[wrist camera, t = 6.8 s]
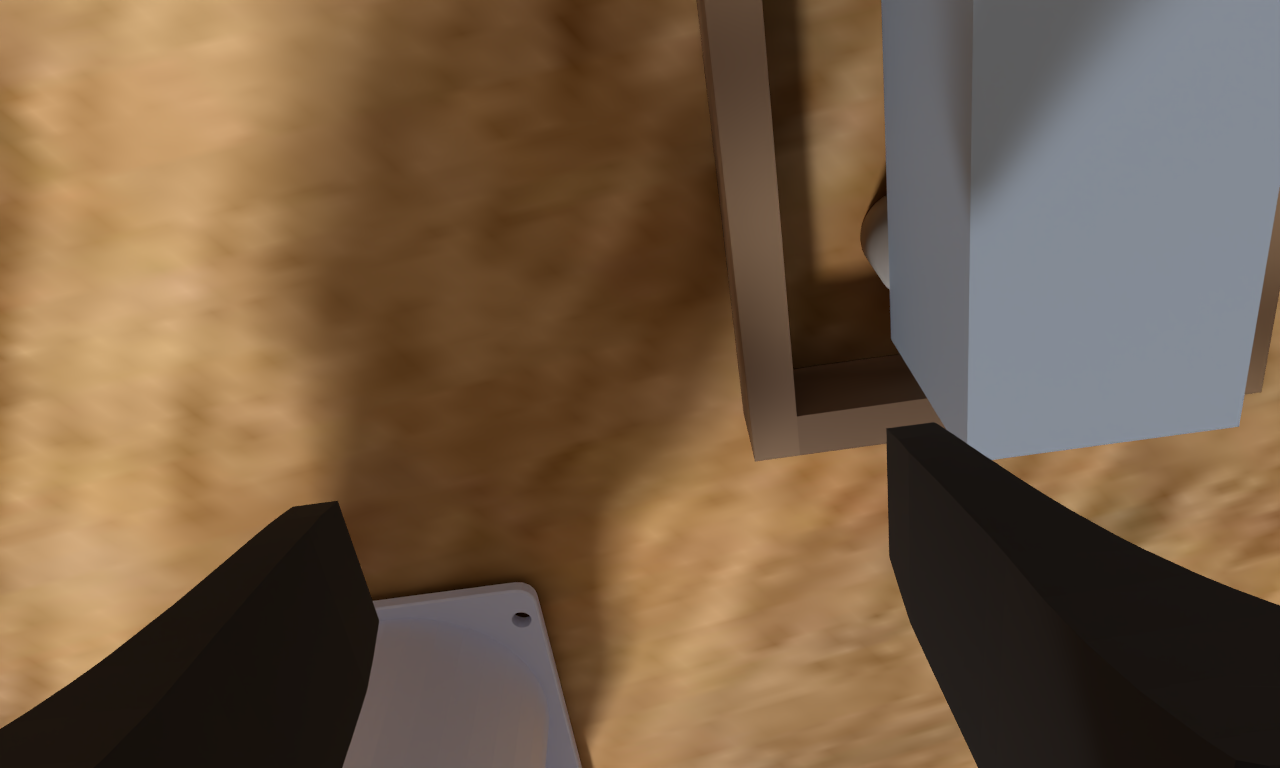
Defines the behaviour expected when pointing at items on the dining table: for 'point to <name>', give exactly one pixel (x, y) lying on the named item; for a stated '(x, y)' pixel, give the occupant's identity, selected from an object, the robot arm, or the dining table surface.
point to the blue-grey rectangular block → (1079, 212)
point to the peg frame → (748, 193)
